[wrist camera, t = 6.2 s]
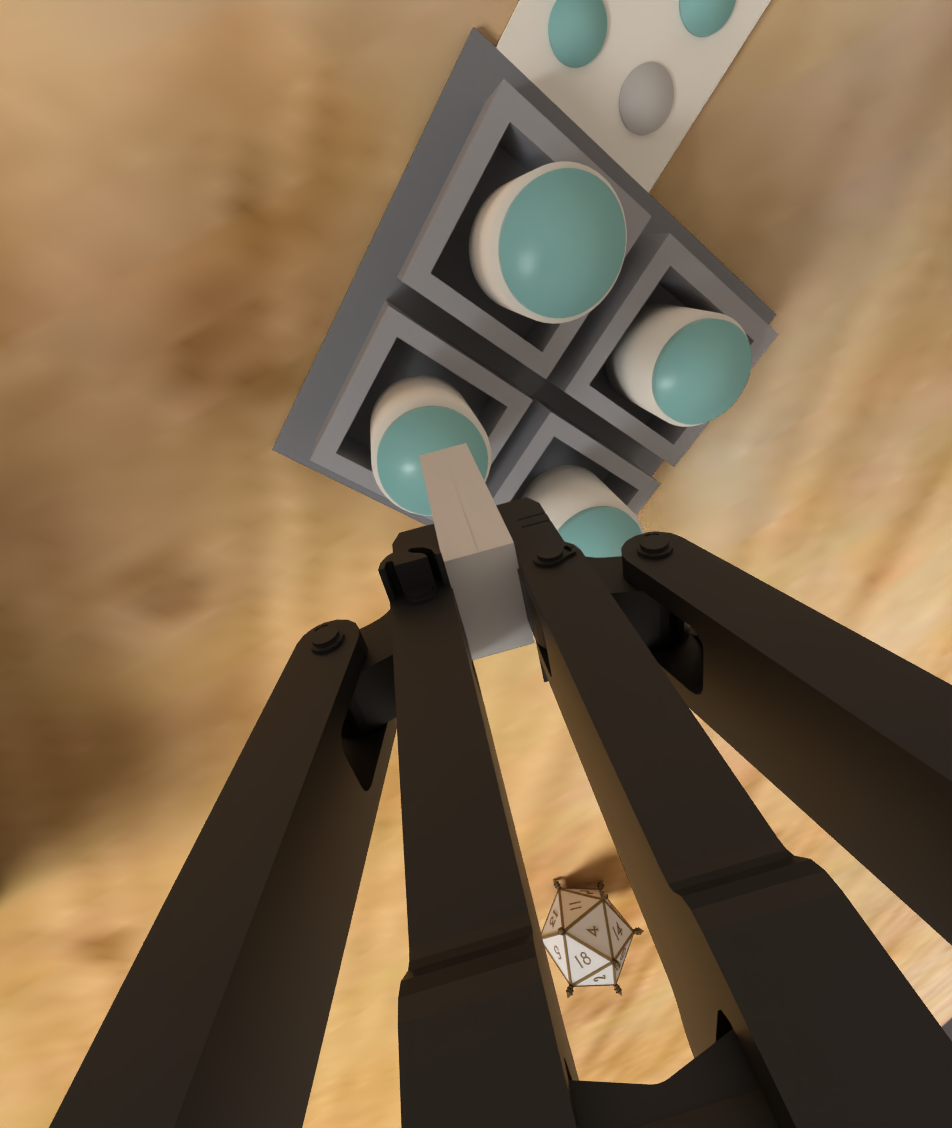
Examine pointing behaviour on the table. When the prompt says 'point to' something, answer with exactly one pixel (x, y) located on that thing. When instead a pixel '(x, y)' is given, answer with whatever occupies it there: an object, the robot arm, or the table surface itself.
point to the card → (629, 67)
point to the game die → (587, 937)
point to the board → (491, 332)
